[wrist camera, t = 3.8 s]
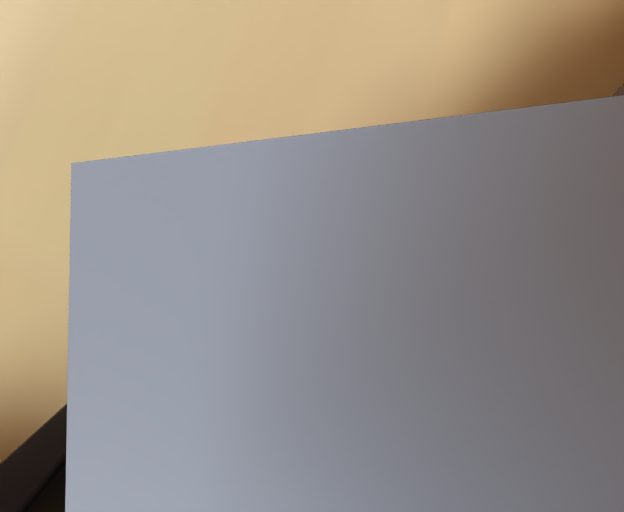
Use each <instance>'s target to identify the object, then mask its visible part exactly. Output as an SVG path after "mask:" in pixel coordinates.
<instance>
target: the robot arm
mask: <svg viewBox="0 0 624 512" xmlns="http://www.w3.org/2000/svg"><path fill="white" fill-rule="evenodd" d="M66 439H67V404H66V405H65V406H64V407H63V408H62V409H60V410H59V411H58V412H57V413H56V414H55V415H54V416H53V417H52V418H50V419H49V420H48V421H47V422H46V423H45V424H44V425H43V426H42V427H40V428H39V429H38V430H37V431H36V432H35V433H34V434H33V435H31V436H30V437H29V438H28V439H27V440H26V441H25V442H24V443H23V444H21V445H20V446H19V447H18V448H17V449H16V450H15V451H14V452H12V453H11V454H10V455H9V456H8V457H7V458H6V459H5V460H4V461H2V462H1V463H0V512H65V494H66Z"/></svg>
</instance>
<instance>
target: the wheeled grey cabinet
mask: <svg viewBox="0 0 624 512" xmlns="http://www.w3.org/2000/svg"><path fill="white" fill-rule="evenodd" d="M65 512H624V95H621V96H613V97H605V98H597V99H589V100H581V101H573V102H564V103H556V104H548V105H540V106H532V107H524V108H516V109H508V110H500V111H491V112H483V113H475V114H467V115H459V116H451V117H443V118H435V119H427V120H418V121H410V122H402V123H394V124H386V125H378V126H370V127H362V128H354V129H346V130H337V131H329V132H321V133H313V134H305V135H297V136H289V137H281V138H272V139H264V140H256V141H248V142H240V143H232V144H224V145H216V146H208V147H200V148H191V149H183V150H175V151H167V152H159V153H151V154H143V155H135V156H126V157H118V158H110V159H102V160H94V161H86V162H78V163H72V164H71V219H70V274H69V329H68V384H67V439H66V494H65Z"/></svg>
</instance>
